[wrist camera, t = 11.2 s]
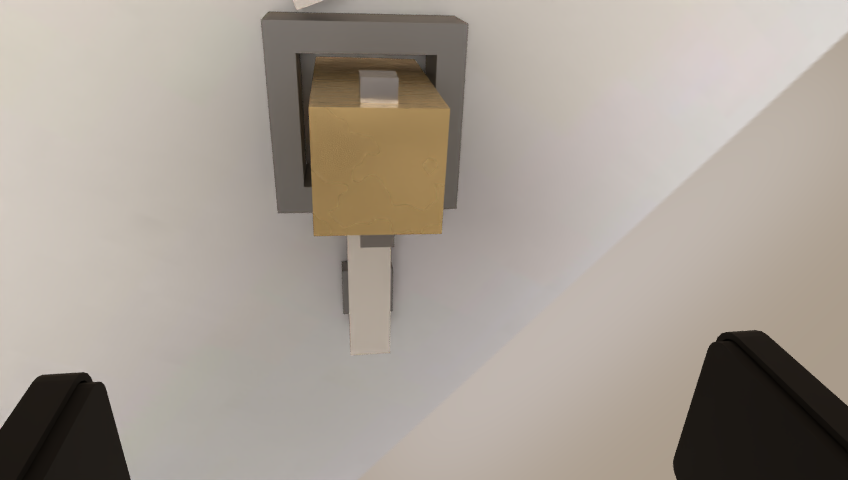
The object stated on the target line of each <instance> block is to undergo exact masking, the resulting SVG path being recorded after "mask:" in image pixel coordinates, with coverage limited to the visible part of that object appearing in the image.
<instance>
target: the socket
mask: <svg viewBox="0 0 848 480" xmlns="http://www.w3.org/2000/svg"><path fill="white" fill-rule="evenodd" d="M321 1H324V0H293V2H294V5H295V7H296V10H299V9H302V8H305V7H307V6H310V5H313V4H315V3H318V2H321ZM261 27H262V38H263V49H264V61H265V72H266V84H267V95H268V107H269V118H270V130H271V141H272V152H273V164H274V175H275V187H276V198H277V210H278V213H312V212H313V203H312V179H311V164H307V162H306V145H305V128H304V112H303V95H302V78H301V62H300V53H322V54H405V55H426V72H425V75H426V76H427V77H428V79H429V80H430V81H431V83H432V84H433V86H434V87H435V88H436V90H437V91H438V93H439V94H440V95H441V97H442V98H443V100H444V101H445V102H446V104H447V105H448V107H449V108H450V119H449V133H448V148H447V162H446V176H445V191H444V205H443V209H456V208H457V192H458V177H459V161H460V146H461V130H462V115H463V99H464V84H465V68H466V53H467V38H468V23H466V22H464V21H462V20H461V19H459V18H457V17H455V16H441V15H395V14H350V13H304V12H268V13H267V14H266V15H265V16H264V17H263V18H262V19H261ZM347 257H348V261H347V262H342V287H343V314H349V326H350V350H351V355H363V354H380V353H390V311H392V299H393V267H392V262H391V247H371V248H360V237H359V235H347Z"/></svg>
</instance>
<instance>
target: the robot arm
mask: <svg viewBox="0 0 848 480" xmlns="http://www.w3.org/2000/svg"><path fill="white" fill-rule="evenodd" d="M673 467H674V473H675V475H676V479H677V480H848V406H847V405H846V404H845V403H844V402H842V401H841V400H840V399H839V398H838V397H837V396H836V395H834V394H833V393H832V392H831V391H830V390H829V389H828V388H826V387H825V386H824V385H823V384H822V383H821V382H820V381H819V380H818V379H816V378H815V377H814V376H813V375H812V374H811V373H810V372H809V371H807V370H806V369H805V368H804V367H803V366H802V365H801V364H800V363H798V362H797V361H796V360H795V359H794V358H793V357H792V356H790V355H789V354H788V353H787V352H786V351H785V350H784V349H783V348H781V347H780V346H779V345H778V344H777V343H776V342H775V341H774V340H772V339H771V338H770V337H769V336H768V335H766V334H765V333H763V332H762V331H757V330H753V331H737V332H725V333H722V334H721V335H720V336H719V337H718V338H717V340H716V342H713V343H712V344H711V345H710V346H709V348H708V350H707V354H706V357H705V360H704V363H703V366H702V370H701V373H700V376H699V379H698V382H697V386H696V389H695V392H694V395H693V398H692V402H691V405H690V408H689V411H688V414H687V418H686V421H685V424H684V427H683V431H682V434H681V437H680V440H679V444H678V447H677V450H676V453H675V456H674V460H673ZM0 480H131V479H130V475H129V472H128V468H127V464H126V461H125V457H124V453H123V450H122V446H121V442H120V439H119V435H118V431H117V428H116V424H115V420H114V417H113V413H112V409H111V406H110V402H109V398H108V395H107V391H106V388H105V386H104V384H103V383H102V382H93V381H92V379H91V377H90V376H89V375H88V373H84V372H81V373H65V374H49V375H41V376H39V377H37V378H36V379H35V380H34V381H33V382H32V384H31V385H30V387H29V388H28V390H27V391H26V393H25V394H24V395H23V397H22V398H21V400H20V401H19V403H18V404H17V406H16V407H15V409H14V410H13V412H12V413H11V414H10V416H9V417H8V419H7V420H6V422H5V423H4V425H3V426H2V428H1V429H0Z"/></svg>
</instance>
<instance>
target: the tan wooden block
mask: <svg viewBox="0 0 848 480" xmlns="http://www.w3.org/2000/svg"><path fill="white" fill-rule="evenodd" d="M449 119H450V108H449V107H448V105H447V104H446V102H445V101H444V100H443V98H442V97H441V95H440V94H439V93H438V91H437V90H436V88H435V87H434V86H433V84H432V83H431V81H430V80H429V79H428V77H427V76H426V75H425V73H424V72H423V70H422V69H421V68H420V66H419V65H418V63H417V62H416V61H415V59H389V58H352V57H316V59H315V66H314V73H313V80H312V87H311V94H310V101H309V129H310V154H311V179H312V203H313V228H314V236H343V235H359V237H360V248H371V247H394V235H397V234H442V219H443V205H444V191H445V176H446V162H447V148H448V133H449Z"/></svg>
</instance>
